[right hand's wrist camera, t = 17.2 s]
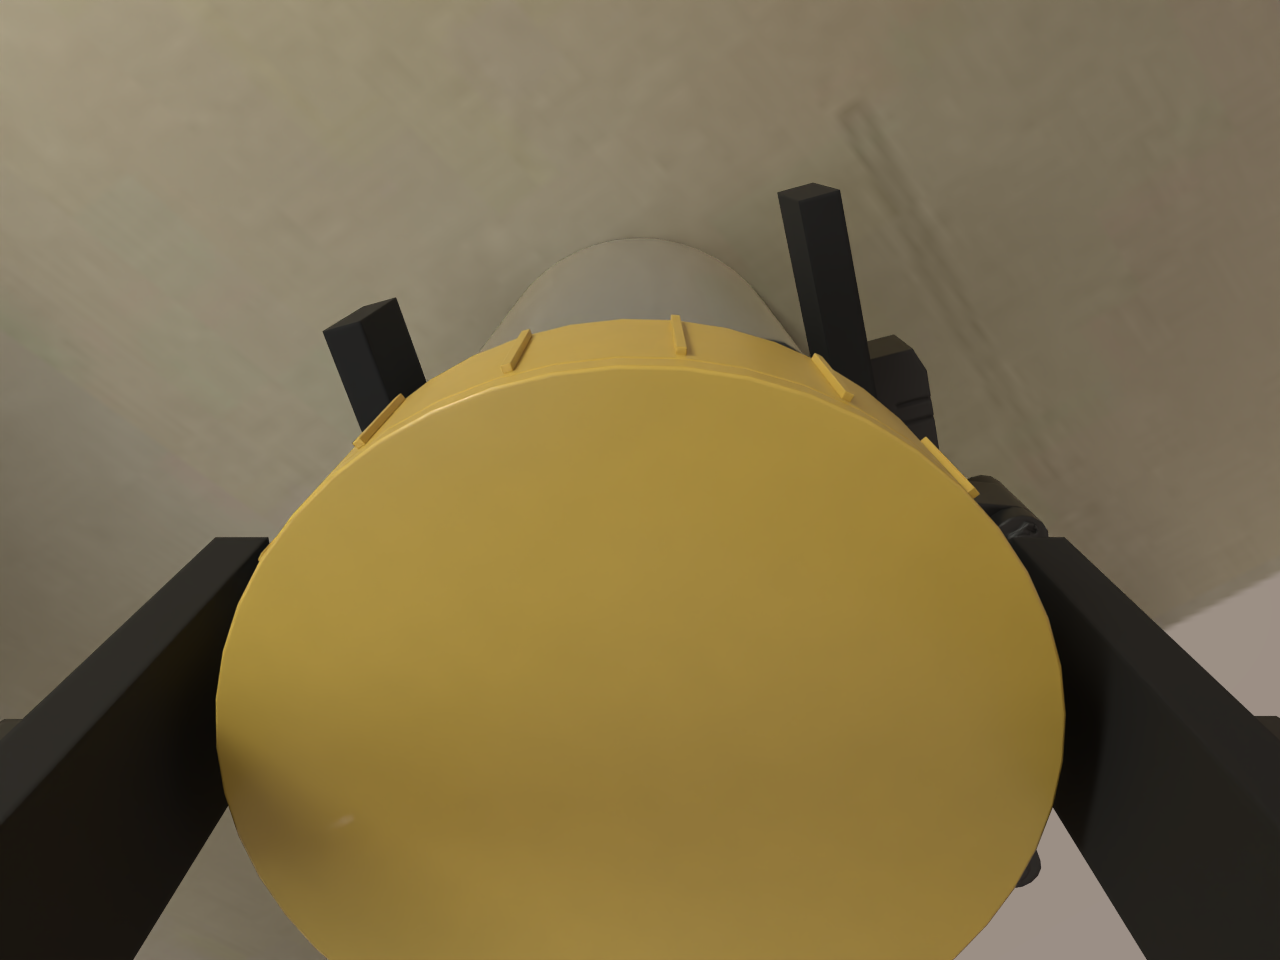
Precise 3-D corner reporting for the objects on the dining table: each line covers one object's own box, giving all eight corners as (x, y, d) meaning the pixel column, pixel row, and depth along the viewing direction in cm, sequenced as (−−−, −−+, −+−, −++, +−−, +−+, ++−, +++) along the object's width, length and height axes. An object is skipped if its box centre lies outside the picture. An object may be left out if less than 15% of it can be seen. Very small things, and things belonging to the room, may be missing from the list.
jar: (838, 305, 25) (1140, 561, 10) (718, 563, 28) (812, 1069, 13) (548, 188, 24) (393, 276, 9) (454, 469, 27) (212, 900, 12)
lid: (266, 277, 11) (167, 315, 8) (1072, 346, 11) (1185, 400, 9) (302, 905, 14) (238, 1052, 12) (919, 946, 14) (971, 1097, 12)
